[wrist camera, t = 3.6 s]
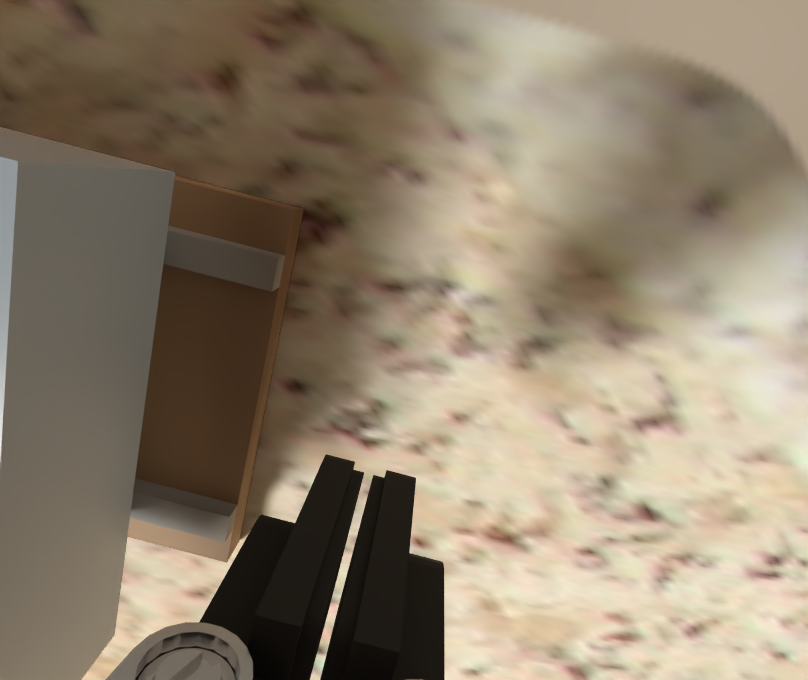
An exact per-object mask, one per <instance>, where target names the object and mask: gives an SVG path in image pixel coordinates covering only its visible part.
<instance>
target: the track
mask: <svg viewBox="0 0 808 680" xmlns="http://www.w3.org/2000/svg"><path fill="white" fill-rule="evenodd" d="M303 211H304V209H303V208H299V207H295V206H291V205H287V204H283V203H280V202H276V201H272V200H268V199H264V198H260V197H256V196H252V195H249V194H245V193H241V192H237V191H233V190H229V189H225V188H221V187H218V186H214V185H210V184H206V183H202V182H198V181H194V180H190V179H187V178H183V177H179V176H175V179H174V187H173V194H172V202H171V209H170V217H169V224H168V232H167V240H166V247H165V255H164V262H163V270H162V278H161V285H160V293H159V300H158V308H157V315H156V323H155V331H154V338H153V346H152V353H151V361H150V369H149V376H148V384H147V391H146V399H145V407H144V414H143V422H142V429H141V437H140V444H139V452H138V460H137V467H136V475H135V482H134V490H133V498H132V505H131V513H130V520H129V528H128V536H127V537H131V538H135V539H138V540H142V541H146V542H150V543H154V544H158V545H161V546H165V547H169V548H173V549H177V550H181V551H184V552H188V553H192V554H196V555H200V556H204V557H208V558H211V559H215V560H219V561H223V562H227V561H228V559H229V558H230V556H231V554H232V553H233V551H234V549H235V548H236V546H237V544H238V542H239V540H240V534H241V529H242V524H243V519H244V514H245V509H246V504H247V499H248V493H249V488H250V483H251V478H252V473H253V468H254V463H255V457H256V452H257V447H258V442H259V437H260V432H261V427H262V422H263V416H264V411H265V406H266V401H267V396H268V391H269V386H270V380H271V375H272V370H273V365H274V360H275V355H276V350H277V345H278V339H279V334H280V329H281V324H282V319H283V314H284V309H285V303H286V298H287V293H288V288H289V283H290V278H291V273H292V268H293V262H294V257H295V252H296V247H297V242H298V237H299V232H300V226H301V221H302V216H303Z"/></svg>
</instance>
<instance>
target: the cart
mask: <svg viewBox="0 0 808 680" xmlns="http://www.w3.org/2000/svg"><path fill="white" fill-rule="evenodd" d="M174 179H175V172H173V171H169V170H165V169H161V168H158V167H154V166H150V165H146V164H142V163H138V162H134V161H130V160H127V159H123V158H119V157H115V156H111V155H107V154H103V153H100V152H96V151H92V150H88V149H84V148H80V147H76V146H72V145H69V144H65V143H61V142H57V141H53V140H49V139H45V138H41V137H38V136H34V135H30V134H26V133H22V132H18V131H14V130H10V129H7V128H3V127H0V680H81V679H82V678H83V677H84V675H85V674H86V672H87V671H88V670H89V668H90V667H91V666H92V664H93V663H94V662H95V660H96V659H97V658H98V656H99V655H100V654H101V652H102V651H103V650H104V648H105V647H106V646H107V644H108V643H109V641H110V640H111V639H112V637H113V636H114V634H115V627H116V619H117V611H118V604H119V596H120V589H121V581H122V573H123V566H124V558H125V551H126V543H127V536H128V528H129V520H130V513H131V505H132V498H133V490H134V482H135V475H136V467H137V460H138V452H139V444H140V437H141V429H142V422H143V414H144V407H145V399H146V391H147V384H148V376H149V369H150V361H151V353H152V346H153V338H154V331H155V323H156V315H157V308H158V300H159V293H160V285H161V278H162V270H163V262H164V255H165V247H166V240H167V232H168V224H169V217H170V209H171V202H172V194H173V187H174Z"/></svg>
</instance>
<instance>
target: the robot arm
mask: <svg viewBox="0 0 808 680" xmlns="http://www.w3.org/2000/svg"><path fill="white" fill-rule="evenodd" d="M354 464H355V462H353V461H350V460H346V459H342V458H338V457H334V456H330V455H327V454H326V455H325V457H324V459H323V462H322V464H321V466H320V468H319V471H318V473H317V475H316V477H315V480H314V482H313V484H312V487H311V489H310V491H309V493H308V496H307V498H306V500H305V502H304V505H303V507H302V509H301V511H300V514H299V516H298V518H297V521H296V523H292V522H288V521H284V520H280V519H276V518H272V517H269V516H265V515H261V516H259V518H258V519H257V521H256V522H255V524H254V526H253V528H252V530H251V531H250V533H249V535H248V537H247V538H246V540H245V542H244V544H243V546H242V547H241V549H240V551H239V553H238V554H237V556H236V558H235V560H234V562H233V563H232V565H231V567H230V569H229V570H228V572H227V574H226V576H225V578H224V579H223V581H222V583H221V585H220V586H219V588H218V590H217V592H216V594H215V595H214V597H213V599H212V601H211V602H210V604H209V606H208V608H207V610H206V611H205V613H204V615H203V617H202V619H201V620H200V622H199V623H181V624H177V625H173V626H168V627H165V628H163V629H161V630H159V631H157V632H155V633H153V634H151V635H149V636H148V637H147V638H145V639H144V640H143V641H142V642H141V643H140V644H138V645H137V646H136V647H135V648H134V649H133V650H132V651H131V652H130V653H129V654H128V655H127V657H126V658H125V659H124V660H123V661H122V662H121V663H120V664H119V665H118V667H117V668H116V669H115V670H114V671H113V672H112V673H111V674H110V675H109V676H108V678H107V679H106V680H310V677H311V673H312V669H313V666H314V662H315V658H316V654H317V651H318V647H319V643H320V640H321V636H322V632H323V629H324V625H325V621H326V618H327V614H328V610H329V606H330V603H331V599H332V595H333V591H334V587H335V583H336V580H337V576H338V572H339V568H340V564H341V560H342V556H343V553H344V549H345V545H346V541H347V537H348V533H349V529H350V526H351V522H352V518H353V514H354V510H355V506H356V502H357V499H358V495H359V491H360V487H361V483H362V479H363V475H364V472H360V471H356V470H353V468H354ZM415 484H416V478H415V477H411V476H407V475H403V474H399V473H395V472H392V471H388V470H387V471H386V474H385V478H383V477H379V476H375V475H373V479H372V482H371V486H370V490H369V494H368V498H367V501H366V505H365V509H364V513H363V516H362V520H361V524H360V528H359V532H358V535H357V539H356V543H355V547H354V550H353V554H352V558H351V562H350V566H349V569H348V573H347V577H346V581H345V584H344V588H343V592H342V596H341V600H340V603H339V607H338V611H337V615H336V619H335V623H334V627H333V631H332V635H331V639H330V643H329V647H328V651H327V655H326V659H325V663H324V667H323V671H322V675H321V679H320V680H444V564H443V562H441V561H437V560H433V559H429V558H426V557H422V556H418V555H414V554H410V553H409V549H410V538H411V527H412V516H413V505H414V494H415Z"/></svg>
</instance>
